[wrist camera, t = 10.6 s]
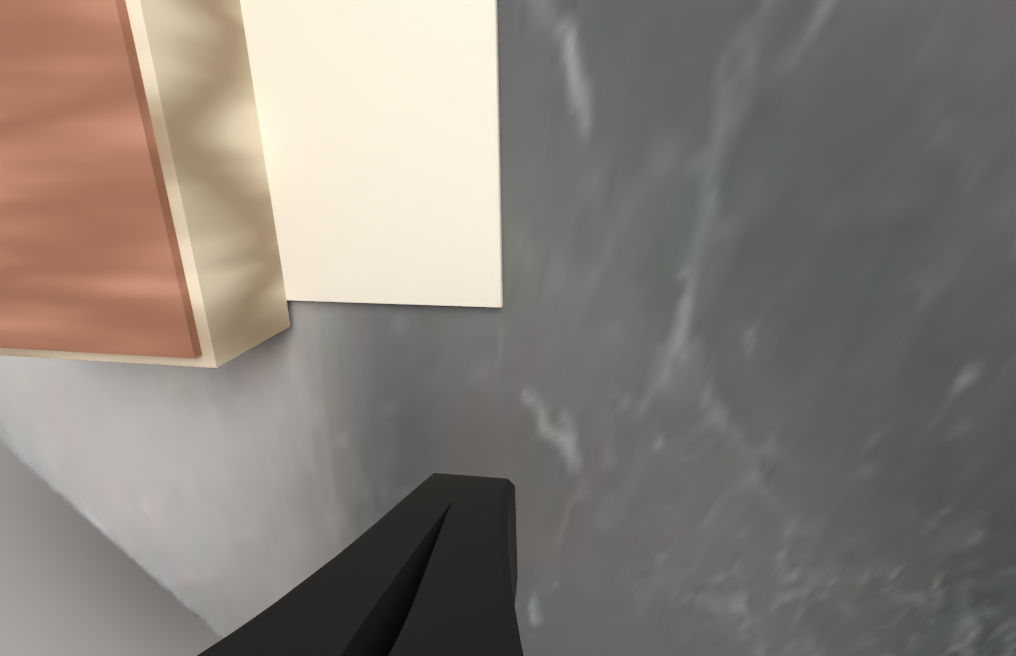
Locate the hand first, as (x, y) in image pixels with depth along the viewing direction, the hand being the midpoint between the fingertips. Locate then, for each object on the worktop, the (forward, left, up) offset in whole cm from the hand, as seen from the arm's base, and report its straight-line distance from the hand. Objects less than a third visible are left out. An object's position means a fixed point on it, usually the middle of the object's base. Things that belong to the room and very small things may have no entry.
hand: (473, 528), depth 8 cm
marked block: (0, +13, -8) cm, 16 cm away
